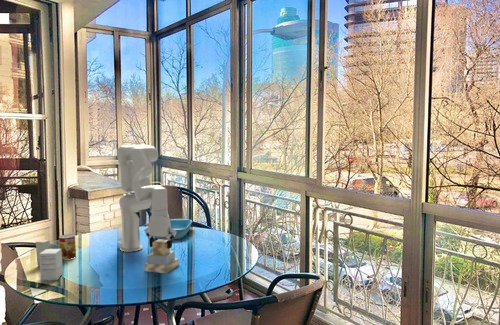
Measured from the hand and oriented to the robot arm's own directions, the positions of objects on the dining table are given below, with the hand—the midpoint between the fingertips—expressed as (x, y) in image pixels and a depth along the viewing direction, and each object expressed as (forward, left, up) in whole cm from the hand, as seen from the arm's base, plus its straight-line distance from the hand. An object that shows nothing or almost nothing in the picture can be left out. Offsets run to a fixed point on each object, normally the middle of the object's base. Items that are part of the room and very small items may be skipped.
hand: (160, 247), depth 195 cm
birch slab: (0, 0, -11) cm, 11 cm away
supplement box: (-42, -26, -11) cm, 51 cm away
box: (-59, -14, -11) cm, 62 cm away
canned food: (-57, 0, -11) cm, 58 cm away
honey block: (0, 0, -3) cm, 3 cm away
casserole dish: (-28, +61, -11) cm, 68 cm away
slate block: (0, 0, -7) cm, 7 cm away
